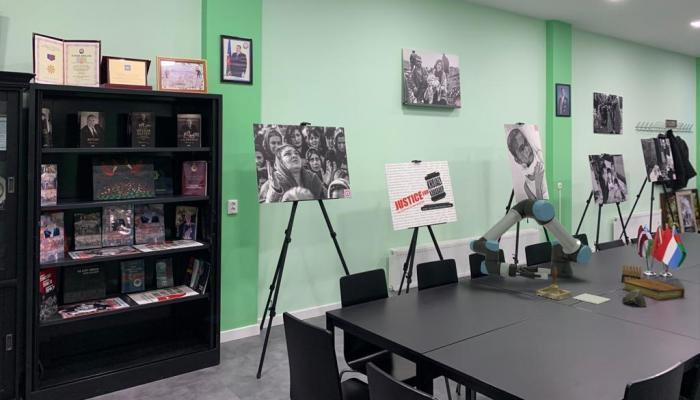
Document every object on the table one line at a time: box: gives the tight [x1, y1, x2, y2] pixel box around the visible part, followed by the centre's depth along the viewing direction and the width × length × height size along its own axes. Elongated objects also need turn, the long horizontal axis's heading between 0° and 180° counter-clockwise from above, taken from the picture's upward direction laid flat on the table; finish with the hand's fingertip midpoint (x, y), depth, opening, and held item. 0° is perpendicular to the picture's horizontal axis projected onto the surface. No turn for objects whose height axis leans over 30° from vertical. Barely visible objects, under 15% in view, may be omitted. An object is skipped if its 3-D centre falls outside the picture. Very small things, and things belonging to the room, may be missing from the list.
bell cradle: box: [535, 286, 573, 301], centre depth 278 cm, size 13×13×2 cm
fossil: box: [621, 289, 647, 308], centre depth 263 cm, size 11×9×10 cm
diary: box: [622, 278, 686, 301], centre depth 284 cm, size 23×19×6 cm
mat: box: [572, 293, 612, 305], centre depth 271 cm, size 14×14×1 cm
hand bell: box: [547, 267, 560, 295], centre depth 277 cm, size 8×8×16 cm
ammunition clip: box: [620, 262, 642, 284], centre depth 305 cm, size 11×2×12 cm, turn 45°
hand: (549, 274), depth 277 cm, fingers open, 13 cm apart
